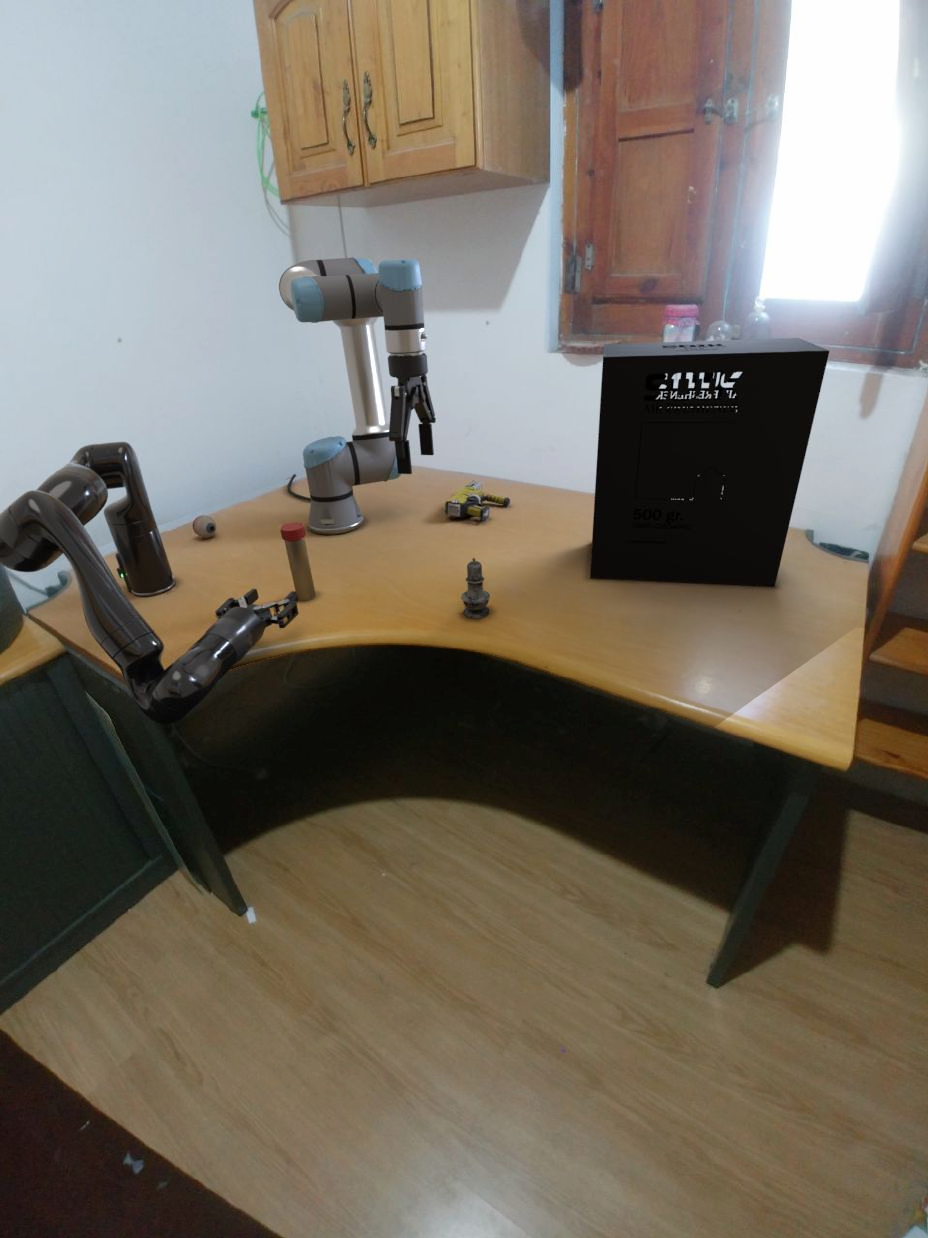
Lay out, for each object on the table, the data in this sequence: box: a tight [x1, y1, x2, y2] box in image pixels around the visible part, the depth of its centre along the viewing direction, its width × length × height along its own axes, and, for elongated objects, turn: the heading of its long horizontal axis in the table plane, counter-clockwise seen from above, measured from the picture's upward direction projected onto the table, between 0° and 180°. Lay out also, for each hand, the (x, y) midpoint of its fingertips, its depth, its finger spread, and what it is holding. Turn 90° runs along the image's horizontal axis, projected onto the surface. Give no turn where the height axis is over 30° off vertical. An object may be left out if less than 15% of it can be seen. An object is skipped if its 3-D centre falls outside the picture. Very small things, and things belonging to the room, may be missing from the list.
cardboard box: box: [589, 337, 830, 587], centre depth 126 cm, size 38×20×45 cm, turn 78°
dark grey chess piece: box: [460, 557, 491, 619], centre depth 119 cm, size 6×6×12 cm
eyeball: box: [192, 514, 217, 538], centre depth 165 cm, size 6×6×6 cm
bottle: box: [283, 537, 317, 602], centre depth 128 cm, size 4×4×16 cm
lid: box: [279, 521, 307, 542], centre depth 125 cm, size 5×5×2 cm
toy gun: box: [444, 480, 511, 521], centre depth 175 cm, size 5×24×15 cm
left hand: (275, 594), depth 119 cm, fingers open, 8 cm apart
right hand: (416, 463), depth 126 cm, fingers open, 13 cm apart
